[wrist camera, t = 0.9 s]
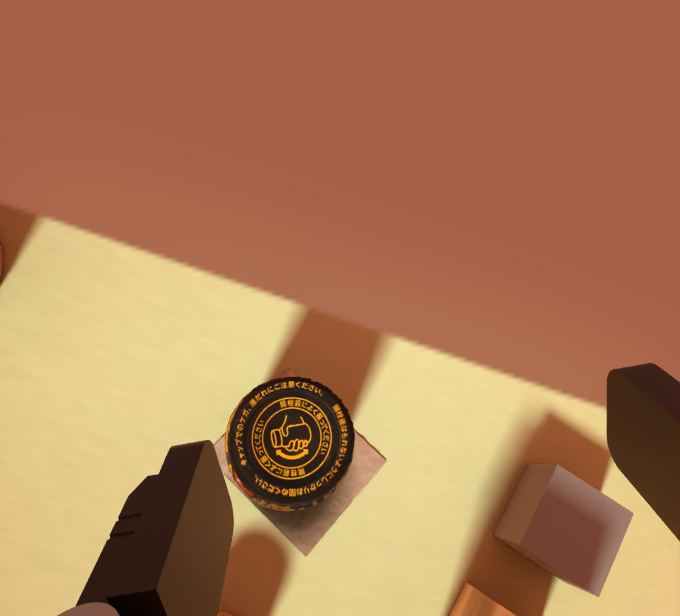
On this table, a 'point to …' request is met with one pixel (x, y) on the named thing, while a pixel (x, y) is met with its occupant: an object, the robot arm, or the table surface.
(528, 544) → the rubber block
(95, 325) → the table surface
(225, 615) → the metal cylinder
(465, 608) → the maple block
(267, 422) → the condiment
